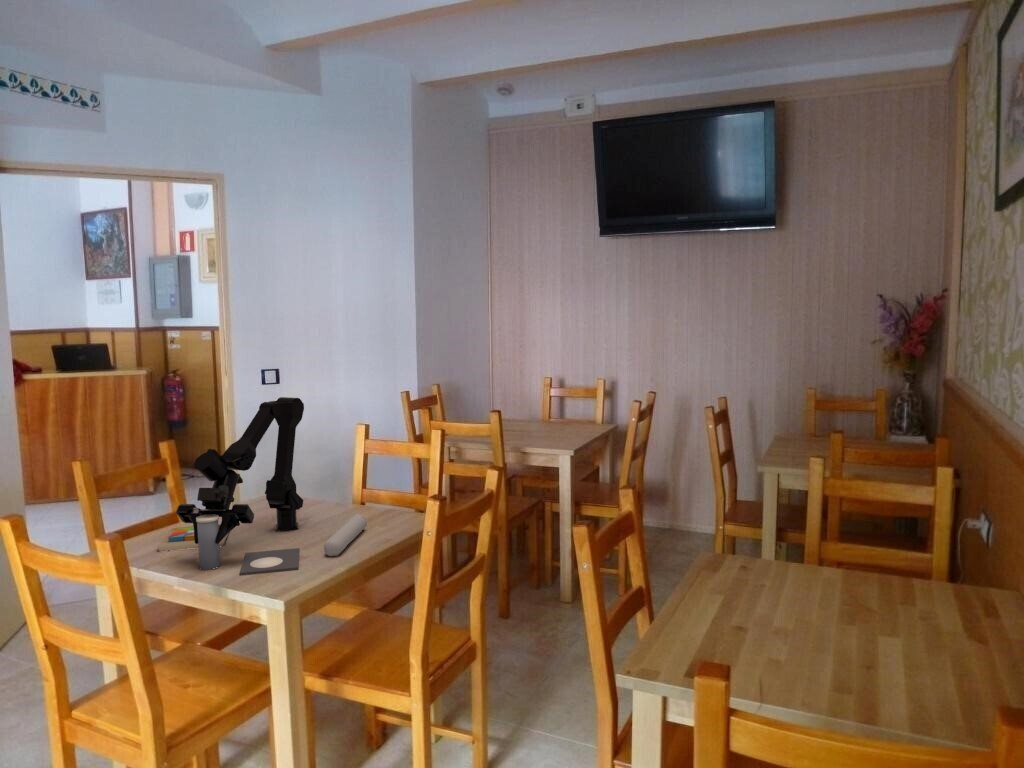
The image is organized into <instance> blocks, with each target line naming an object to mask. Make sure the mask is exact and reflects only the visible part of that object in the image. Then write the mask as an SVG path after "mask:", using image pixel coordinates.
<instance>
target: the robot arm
mask: <svg viewBox="0 0 1024 768" xmlns="http://www.w3.org/2000/svg"><path fill="white" fill-rule="evenodd" d="M304 411H305V404H304V402H303V401H302V399H301V398H300V397H286V396H282V397H281V396H280V397H279V398H277V400H271V401H270V400H269V401H263V402H261V403H260V404H259V408H258V411H257V412H256V414H255V415H254V416H253V418H252V420H251V421H250V423H249V424H248V426H247V428H246V429H245V430H244V432H243V434H242V435H241V437H240V438H239V439H238V440H236V441H234V442H233V443H231V444H230V445H229V447H227V448H226V450H225V451H224V452H223V453H222V454H219V452H218V451H217V450H216V449H215V448H208V449H207V451H206V452H203V453H202V454H200V455H199V456H198V457H197V458H195V461H193V462H194V464H193V467H194V469H195V470H196V471H198V472H199V473H200V474H201V475H202V476H203V477H204V478H205V479H206V480H208V481H209V482H213V484H212V487H199V488H198V491H197V497H196V498H197V499H196V500H197V501H198V502H199V501H200V502H201V506H202V507H204V508H203V509H202V508H200V507H197V506H196V505H195V504H194V503H181V504H179V505H178V506H177V507H176V510H175V511H176V512H175V514H176V515H177V516H178V518H179V519H180V520H181V521H182V522H183V524H192V526H194V541H195V543H196V544H198V530H197V522H196V518H197V517H198V516H201V515H207V514H216V515H219V518H221V522H220V524H221V525H220V528H219V531H218V533H217V536H216V541H215V543H216V544H219V542H220V541H221V540H222V539H223V538H224V537H225V536H226V535H227V534H228V533H229V532H230V533H231V532H232V530H234V529H235V528H236V527H239V526H240V525H241V524H253V523H254V519H255V513H254V512H253V511H252V509H251V507H250V506H249V504H248V503H242V504H241V503H240V504H239V503H235V504H233V505H232V503H234V502H235V498H234V494H235V492H236V491H235V490H236V487H237V485H239V484H243V483H244V480H243V478H242V477H241V474H240V473H237V472H236V471H242V472H244V471H249V470H250V469H251V468H252V467H253V463H254V462H255V459H256V457H257V448H258V445H259V443H260V442H261V441H262V439H263V437H264V435H266V432H267V431H268V429H269V427H270V426H271V424H272V423H273V421H274V420H275V422H276V424H277V426H278V428H277V429H278V431H277V443H276V452H275V453H276V455H275V464H274V473H273V476H272V477H271V479H267V480H266V482H265V491H264V495H265V498H266V499H265V500H266V501H267V503H268V506H269V509H276V511H275V512H276V524H275V528H274V529H275V530H274V531H275V532H283V531H294V530H299V522H298V521H297V520H298V519H297V511H298V510H301V508H303V506H304V499H303V498H302V497H301V496H300V495H299V494H298V492H297V483H296V481H295V479H294V478H293V467H294V466H293V465H294V464H293V463H294V454H295V453H294V452H295V443H296V441H295V440H296V432H297V431H296V429H297V427H298V425H299V424H300V422H301V421H302V419H303V415H304ZM231 505H232V507H231ZM230 507H231V509H230ZM230 533H229V534H230Z"/></svg>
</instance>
